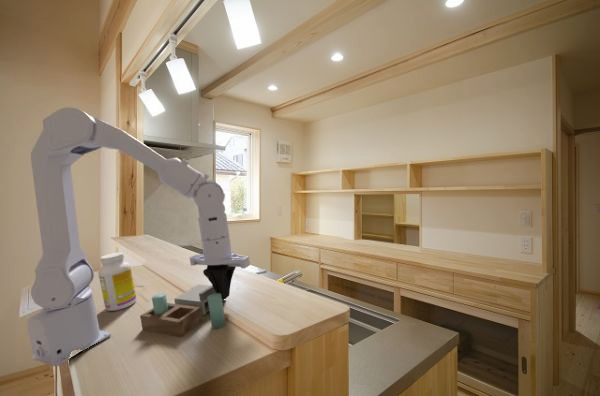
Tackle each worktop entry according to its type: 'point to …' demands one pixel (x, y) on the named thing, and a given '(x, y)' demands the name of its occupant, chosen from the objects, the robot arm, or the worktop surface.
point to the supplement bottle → (116, 282)
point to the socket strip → (172, 320)
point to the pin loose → (216, 310)
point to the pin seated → (160, 304)
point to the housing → (196, 297)
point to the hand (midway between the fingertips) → (224, 297)
